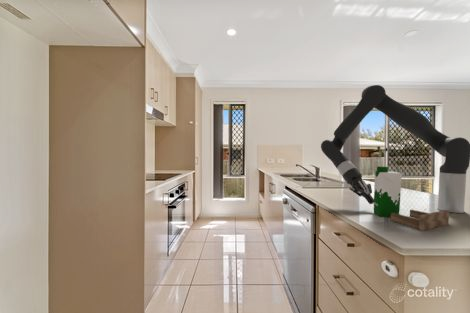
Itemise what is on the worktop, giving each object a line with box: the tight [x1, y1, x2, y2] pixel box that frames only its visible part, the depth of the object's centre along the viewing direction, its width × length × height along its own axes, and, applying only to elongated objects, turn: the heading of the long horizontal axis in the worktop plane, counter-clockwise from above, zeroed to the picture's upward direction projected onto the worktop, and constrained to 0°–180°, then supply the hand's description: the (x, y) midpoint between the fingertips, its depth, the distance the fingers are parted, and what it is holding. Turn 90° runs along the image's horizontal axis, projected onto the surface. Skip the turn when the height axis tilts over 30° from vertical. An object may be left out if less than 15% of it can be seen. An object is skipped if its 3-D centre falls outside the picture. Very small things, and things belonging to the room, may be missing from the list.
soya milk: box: [373, 166, 403, 218], centre depth 104 cm, size 9×9×20 cm
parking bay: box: [390, 208, 450, 232], centre depth 94 cm, size 18×12×5 cm, turn 118°
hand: (372, 202), depth 110 cm, fingers closed
